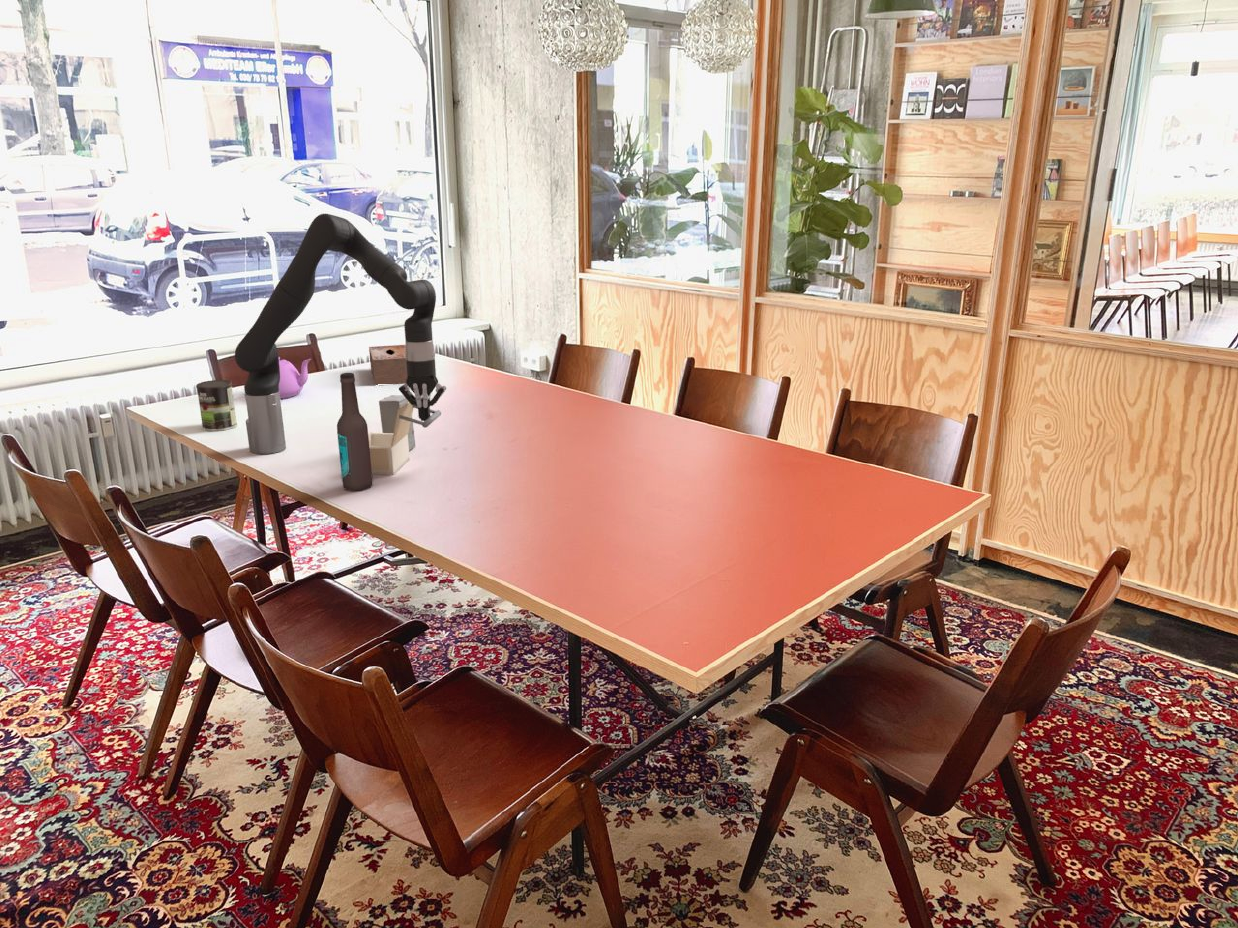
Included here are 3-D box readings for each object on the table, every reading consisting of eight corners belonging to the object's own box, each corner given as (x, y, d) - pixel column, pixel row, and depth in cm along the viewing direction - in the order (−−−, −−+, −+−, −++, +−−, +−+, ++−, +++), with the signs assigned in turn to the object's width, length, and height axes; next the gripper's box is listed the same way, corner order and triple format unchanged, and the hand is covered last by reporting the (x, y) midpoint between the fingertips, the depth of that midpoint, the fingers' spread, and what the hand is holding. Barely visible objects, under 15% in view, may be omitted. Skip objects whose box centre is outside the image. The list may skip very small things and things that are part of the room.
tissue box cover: (371, 371, 369) (368, 346, 366) (408, 369, 373) (406, 344, 370) (375, 386, 346) (373, 360, 343) (414, 383, 350) (412, 357, 347)
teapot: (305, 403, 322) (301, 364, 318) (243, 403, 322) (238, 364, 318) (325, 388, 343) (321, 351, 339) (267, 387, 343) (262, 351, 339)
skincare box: (405, 455, 266) (400, 401, 261) (381, 453, 268) (377, 400, 263) (416, 446, 274) (413, 394, 269) (394, 445, 275) (390, 393, 270)
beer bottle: (341, 484, 243) (329, 372, 234) (370, 480, 246) (360, 369, 236) (345, 493, 237) (333, 378, 227) (375, 489, 239) (364, 375, 230)
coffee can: (220, 433, 288) (214, 388, 284) (195, 429, 292) (188, 385, 287) (244, 424, 297) (239, 381, 293) (220, 421, 301) (213, 378, 296)
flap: (398, 409, 244) (428, 419, 244) (414, 397, 256) (443, 406, 256) (390, 445, 247) (421, 455, 247) (406, 432, 259) (435, 441, 259)
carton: (353, 473, 251) (351, 447, 248) (372, 457, 264) (370, 432, 261) (393, 475, 249) (390, 448, 247) (410, 459, 263) (408, 433, 260)
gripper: (391, 359, 243) (396, 423, 248) (440, 360, 241) (444, 424, 246) (401, 353, 250) (405, 415, 255) (448, 354, 248) (452, 417, 254)
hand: (424, 420), depth 251 cm, fingers closed
